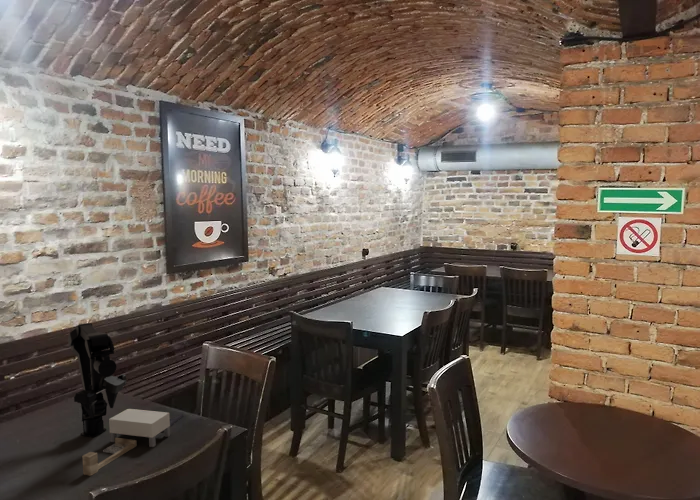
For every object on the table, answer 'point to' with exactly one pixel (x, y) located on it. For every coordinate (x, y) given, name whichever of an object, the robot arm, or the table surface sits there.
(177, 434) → the table surface
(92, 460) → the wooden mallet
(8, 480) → the table surface
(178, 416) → the bracket
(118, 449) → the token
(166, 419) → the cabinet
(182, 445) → the table surface
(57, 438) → the table surface
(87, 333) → the robot arm
